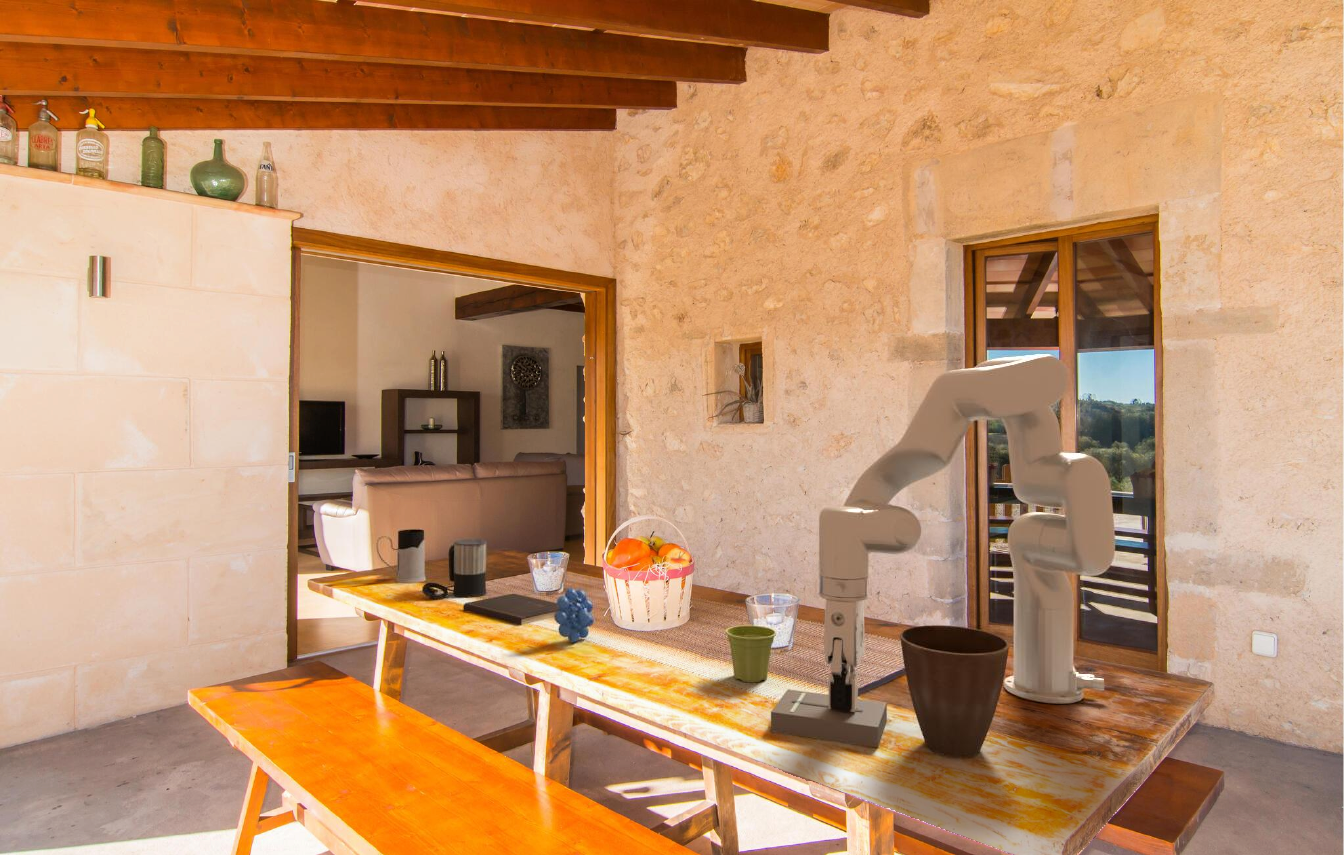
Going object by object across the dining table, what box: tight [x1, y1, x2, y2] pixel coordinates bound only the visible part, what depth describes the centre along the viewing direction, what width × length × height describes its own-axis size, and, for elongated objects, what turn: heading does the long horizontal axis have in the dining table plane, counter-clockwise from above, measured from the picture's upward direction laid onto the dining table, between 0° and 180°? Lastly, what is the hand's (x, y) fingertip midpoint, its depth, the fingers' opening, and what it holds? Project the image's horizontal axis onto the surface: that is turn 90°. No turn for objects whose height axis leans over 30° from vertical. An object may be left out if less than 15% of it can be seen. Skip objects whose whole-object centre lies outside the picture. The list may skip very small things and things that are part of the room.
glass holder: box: [376, 528, 427, 584], centre depth 233 cm, size 9×14×15 cm, turn 108°
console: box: [770, 689, 888, 749], centre depth 120 cm, size 16×11×3 cm
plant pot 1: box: [725, 625, 777, 683], centre depth 144 cm, size 9×9×9 cm
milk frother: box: [421, 538, 488, 599], centre depth 213 cm, size 14×16×15 cm
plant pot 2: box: [899, 624, 1010, 759], centre depth 113 cm, size 15×15×16 cm
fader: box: [827, 672, 859, 712], centre depth 120 cm, size 4×3×5 cm
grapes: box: [553, 587, 595, 643], centre depth 167 cm, size 12×7×12 cm, turn 145°
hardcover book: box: [462, 593, 561, 626], centre depth 195 cm, size 16×23×2 cm
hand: (843, 704), depth 120 cm, fingers closed on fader, 3 cm apart
